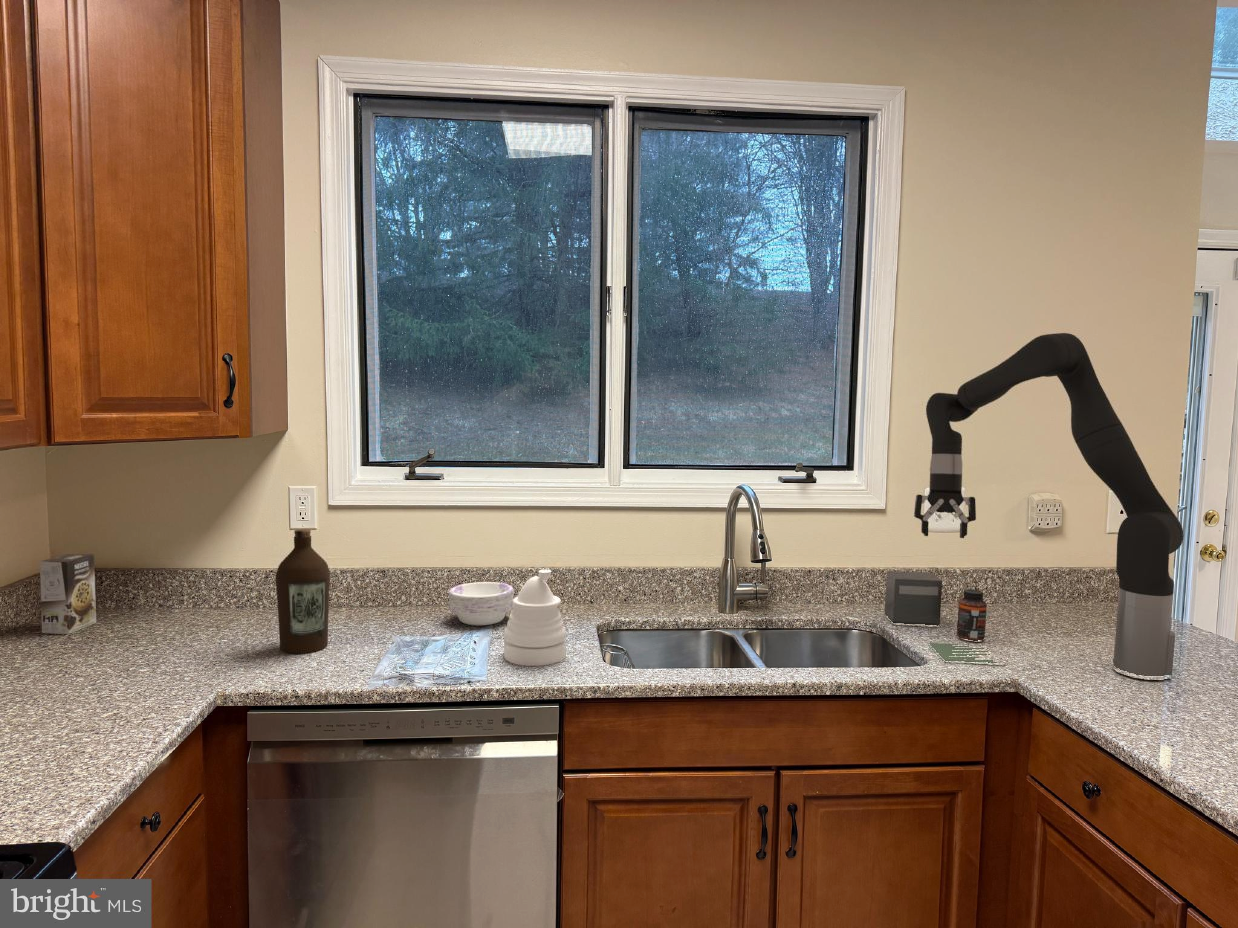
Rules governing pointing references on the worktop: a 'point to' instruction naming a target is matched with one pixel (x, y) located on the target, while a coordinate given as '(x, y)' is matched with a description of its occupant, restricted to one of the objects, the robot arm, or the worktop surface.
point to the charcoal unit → (913, 597)
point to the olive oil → (303, 598)
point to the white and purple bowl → (481, 602)
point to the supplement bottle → (972, 616)
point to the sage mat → (946, 651)
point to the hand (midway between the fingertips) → (943, 536)
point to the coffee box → (67, 593)
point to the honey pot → (535, 626)
